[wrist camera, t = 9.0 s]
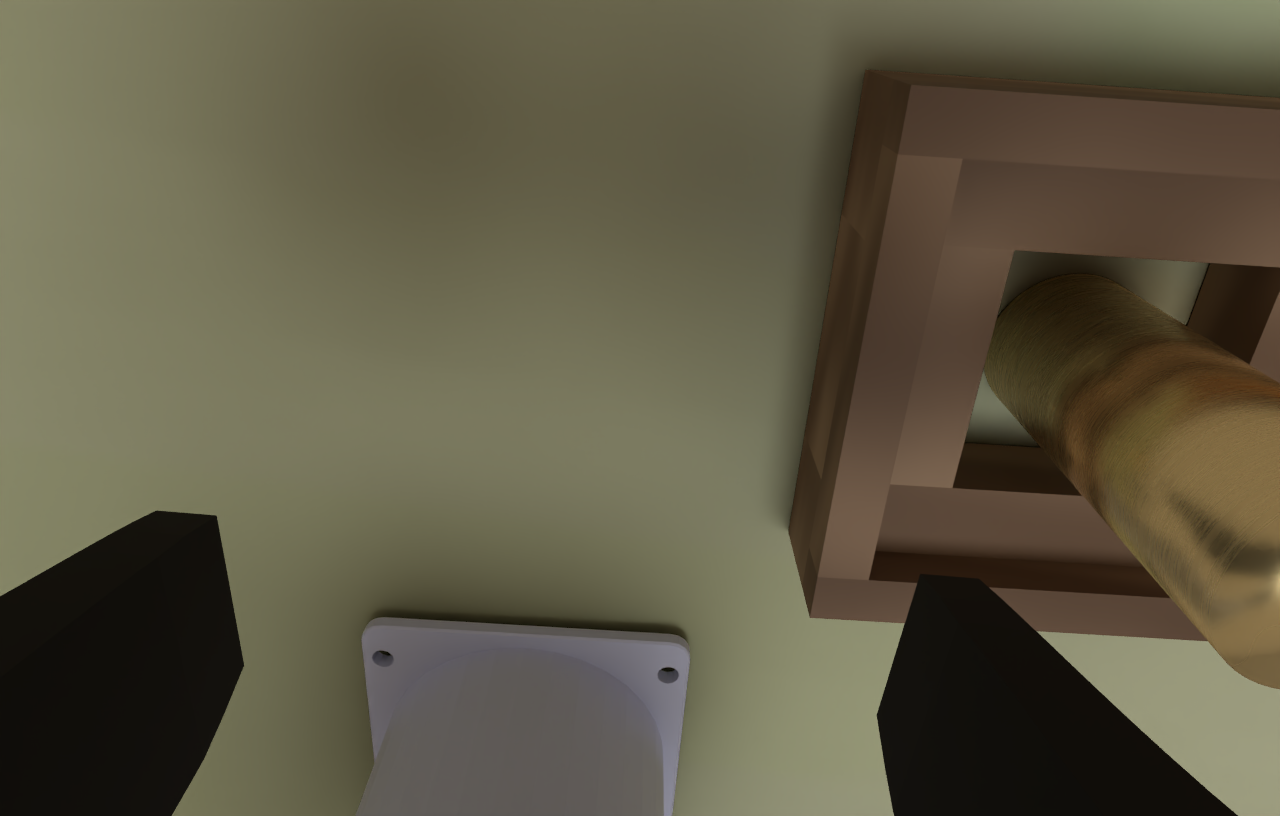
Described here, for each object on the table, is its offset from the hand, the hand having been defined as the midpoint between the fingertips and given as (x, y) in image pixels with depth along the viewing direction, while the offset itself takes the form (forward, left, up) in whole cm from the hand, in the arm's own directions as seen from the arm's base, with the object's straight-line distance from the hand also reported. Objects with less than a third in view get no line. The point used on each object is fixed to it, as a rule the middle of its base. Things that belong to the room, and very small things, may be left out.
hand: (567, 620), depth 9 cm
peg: (0, -9, -9) cm, 13 cm away
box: (0, -9, -9) cm, 13 cm away
